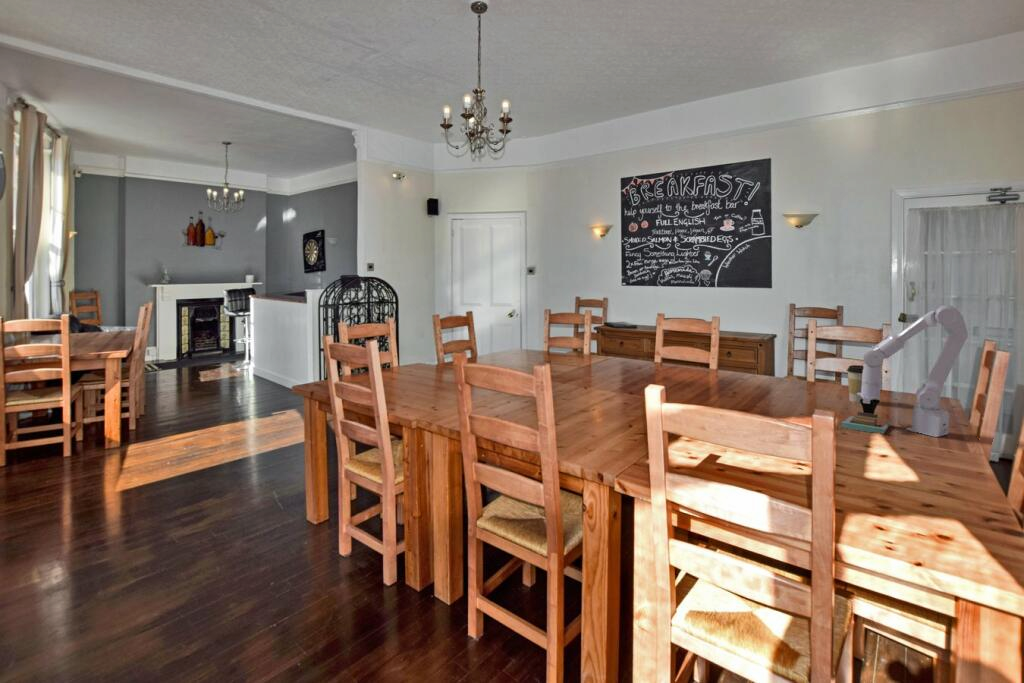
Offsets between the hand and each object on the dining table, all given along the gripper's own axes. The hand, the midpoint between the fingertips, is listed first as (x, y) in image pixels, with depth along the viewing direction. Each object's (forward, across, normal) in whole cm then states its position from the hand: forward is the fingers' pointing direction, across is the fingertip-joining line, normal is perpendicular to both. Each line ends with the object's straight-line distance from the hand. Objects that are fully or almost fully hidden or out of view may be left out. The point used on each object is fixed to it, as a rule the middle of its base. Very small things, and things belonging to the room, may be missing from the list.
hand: (868, 419), depth 193 cm
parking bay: (+2, +5, 0) cm, 5 cm away
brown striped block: (+2, +5, 0) cm, 6 cm away
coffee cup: (+2, -37, -9) cm, 38 cm away
